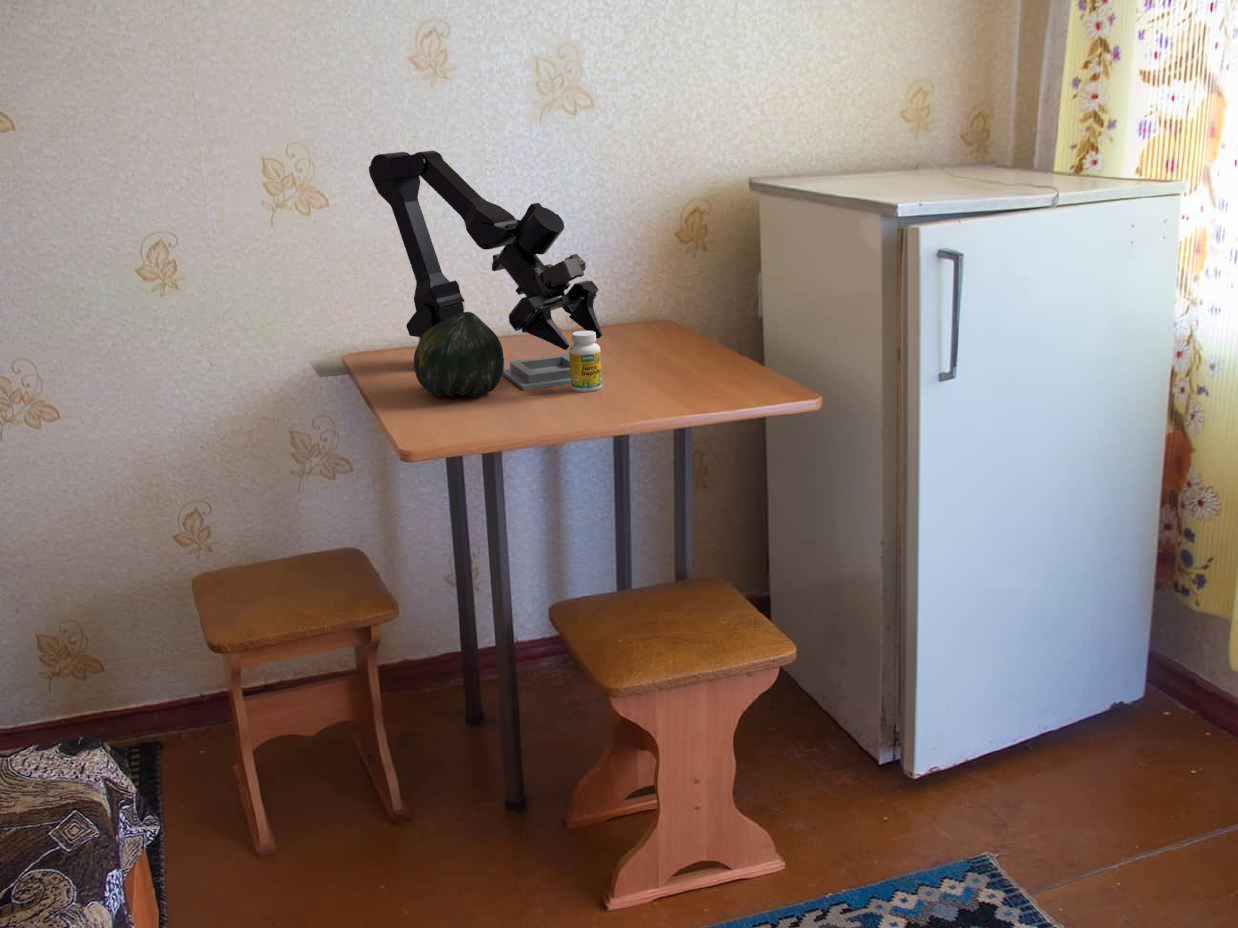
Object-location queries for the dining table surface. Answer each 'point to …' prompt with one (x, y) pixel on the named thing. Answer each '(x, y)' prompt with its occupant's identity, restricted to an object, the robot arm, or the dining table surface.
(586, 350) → the supplement bottle
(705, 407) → the dining table surface
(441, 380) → the squash
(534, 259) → the robot arm
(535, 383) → the tray
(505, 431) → the dining table surface
